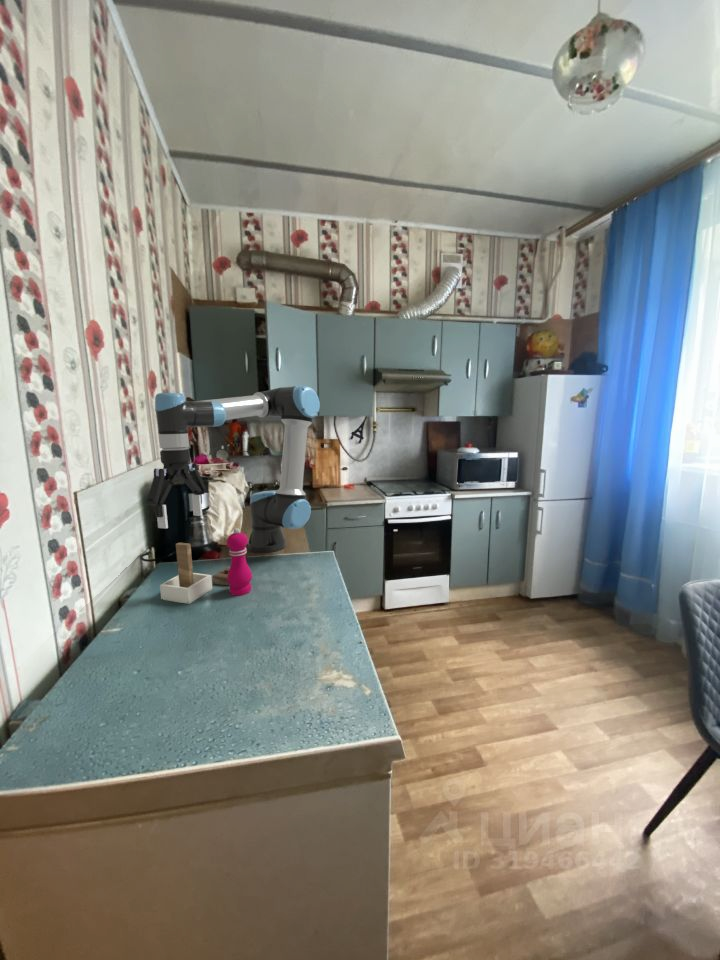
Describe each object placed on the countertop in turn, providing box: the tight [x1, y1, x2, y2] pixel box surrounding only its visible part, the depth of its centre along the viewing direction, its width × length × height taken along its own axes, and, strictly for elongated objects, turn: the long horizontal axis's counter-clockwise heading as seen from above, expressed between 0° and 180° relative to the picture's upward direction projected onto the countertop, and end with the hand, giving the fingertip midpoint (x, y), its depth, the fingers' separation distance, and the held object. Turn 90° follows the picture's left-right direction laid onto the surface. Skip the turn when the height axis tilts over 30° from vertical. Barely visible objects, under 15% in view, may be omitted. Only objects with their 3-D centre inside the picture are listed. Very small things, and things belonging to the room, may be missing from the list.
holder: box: [212, 567, 231, 587], centre depth 122 cm, size 7×7×2 cm
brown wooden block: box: [175, 542, 194, 588], centre depth 111 cm, size 2×4×15 cm, turn 73°
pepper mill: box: [226, 527, 253, 597], centre depth 113 cm, size 7×7×20 cm
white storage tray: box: [159, 572, 213, 605], centre depth 112 cm, size 10×10×4 cm
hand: (181, 521), depth 109 cm, fingers open, 13 cm apart
